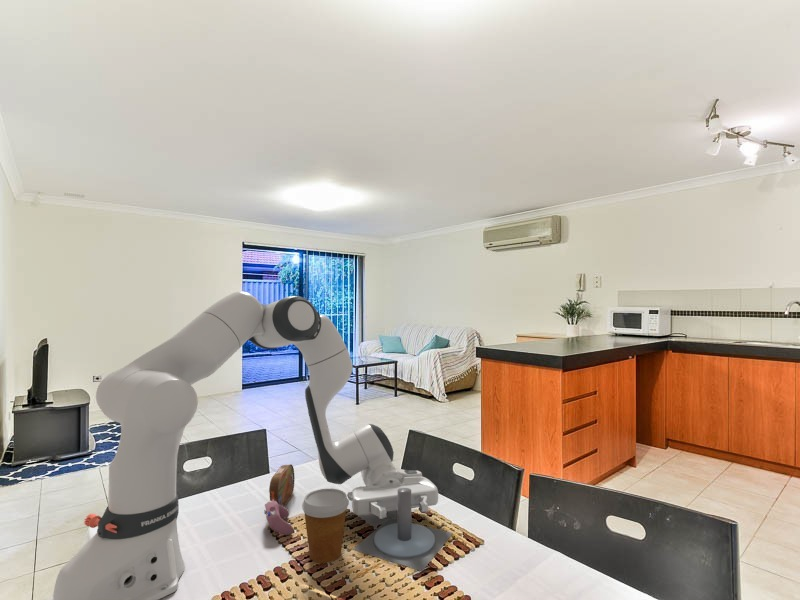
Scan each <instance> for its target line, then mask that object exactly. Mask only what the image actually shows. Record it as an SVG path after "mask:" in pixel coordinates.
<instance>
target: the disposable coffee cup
mask: <svg viewBox="0 0 800 600" xmlns="http://www.w3.org/2000/svg"><path fill="white" fill-rule="evenodd" d="M349 501H350V500H349V499H348V496H347V494H346V492H344V491H343V490H340V489H338V488H321V489H317V490H312V491H310V492H308V493H307V494H306V495H305V496H304V498H303V501H302V504H301V509H302V511H303V512H304V519H305V520H304V521H305V529H306V537H307V538H306V539H307V544H308V554H309V555H308V556H309V559H310V560H311V561H312V562H314V563H319V564H327V563H331V562H335V561H336V560H338V559H339V558H340V557H341V554H342V548H343V538H344V532H345V523H346V516H347V515H346V514H347V509H348V506H349V504H350V502H349Z"/></svg>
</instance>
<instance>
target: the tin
mask: <svg viewBox="0 0 800 600" xmlns="http://www.w3.org/2000/svg"><path fill="white" fill-rule="evenodd" d="M294 489H295V470H294V466H293V464H283V465H281V466H280V467H279V468H278V469H277V470H276V471H275V473H274V474H273V475H272V477H271V479H270V482H269V489H268V493H269V501H272V500H274V501H276V502H277V503H278V504H280V505H281V506H283V507H285V508H286V506H287V504H288V502H289V500H290V499H291V498H292V496H293V493H294Z"/></svg>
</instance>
